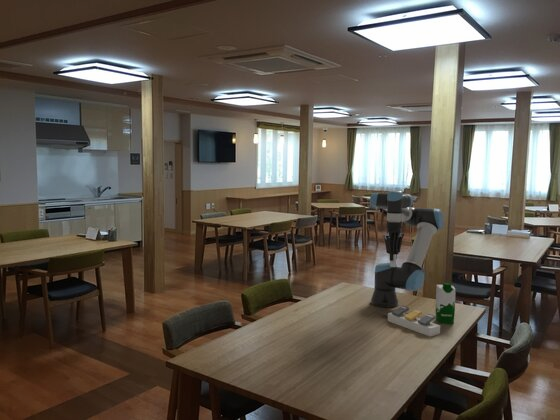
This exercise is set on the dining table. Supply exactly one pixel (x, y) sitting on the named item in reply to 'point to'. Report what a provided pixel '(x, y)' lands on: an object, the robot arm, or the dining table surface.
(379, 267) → the robot arm
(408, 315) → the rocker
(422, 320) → the plate
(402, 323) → the rocker switch panel
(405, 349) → the dining table surface
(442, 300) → the milk carton
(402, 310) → the block
